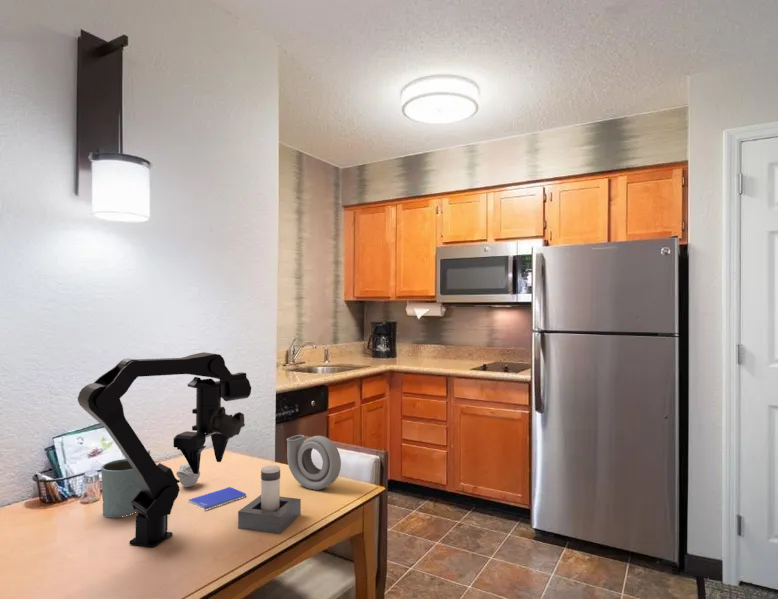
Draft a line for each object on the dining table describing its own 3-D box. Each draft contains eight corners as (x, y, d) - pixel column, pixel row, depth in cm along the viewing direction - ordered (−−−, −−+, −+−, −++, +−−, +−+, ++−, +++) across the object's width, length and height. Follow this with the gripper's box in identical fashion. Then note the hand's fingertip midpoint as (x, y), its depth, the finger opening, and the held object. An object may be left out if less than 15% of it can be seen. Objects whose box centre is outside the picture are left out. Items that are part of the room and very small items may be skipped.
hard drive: (205, 507, 128) (246, 493, 137) (188, 498, 133) (229, 486, 142) (204, 513, 128) (246, 499, 137) (188, 504, 133) (229, 491, 142)
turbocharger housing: (344, 488, 144) (344, 437, 144) (331, 496, 138) (332, 442, 138) (297, 478, 152) (298, 429, 152) (283, 485, 146) (284, 434, 146)
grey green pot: (101, 507, 129) (102, 461, 129) (144, 500, 134) (145, 456, 134) (99, 522, 120) (100, 473, 120) (145, 514, 125) (146, 467, 125)
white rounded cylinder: (267, 527, 119) (267, 472, 119) (256, 521, 122) (257, 468, 122) (283, 521, 122) (284, 468, 122) (272, 515, 125) (273, 463, 125)
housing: (280, 534, 115) (280, 516, 115) (238, 528, 118) (238, 511, 118) (300, 514, 126) (300, 498, 126) (261, 509, 129) (261, 494, 129)
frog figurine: (171, 489, 142) (171, 465, 142) (188, 481, 148) (188, 458, 149) (188, 492, 140) (188, 467, 140) (205, 484, 147) (205, 460, 147)
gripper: (214, 414, 111) (213, 484, 111) (257, 398, 129) (256, 459, 129) (172, 411, 114) (171, 479, 114) (219, 396, 132) (219, 455, 132)
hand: (207, 467), depth 122 cm, fingers open, 9 cm apart
